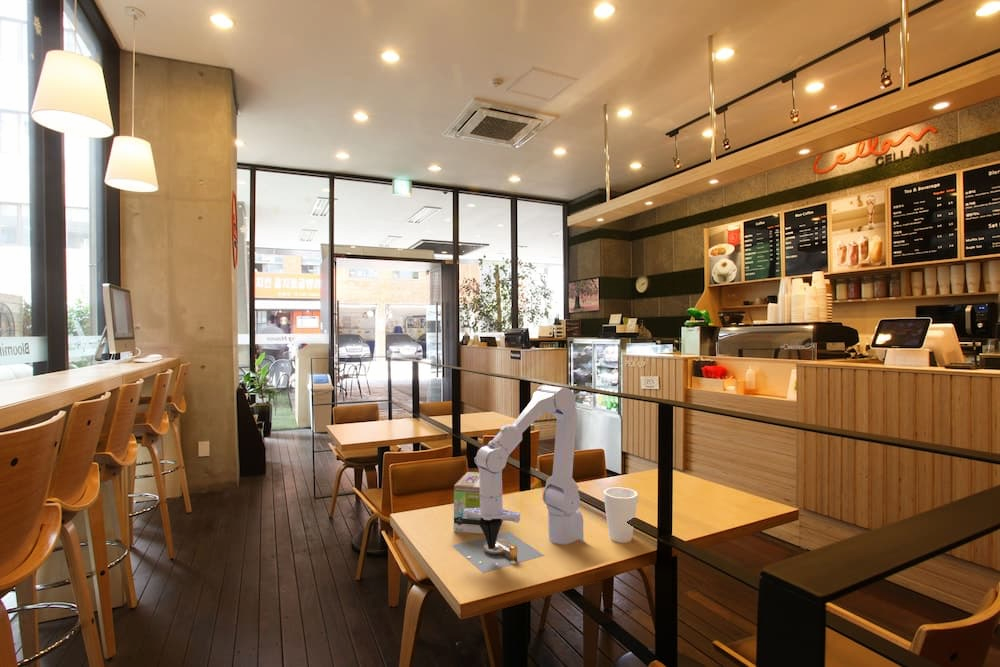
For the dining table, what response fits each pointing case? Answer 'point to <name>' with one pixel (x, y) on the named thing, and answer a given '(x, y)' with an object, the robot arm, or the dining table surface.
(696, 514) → the dining table surface
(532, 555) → the panel
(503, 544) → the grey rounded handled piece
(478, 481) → the tea box
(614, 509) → the foam cup
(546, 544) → the dining table surface
